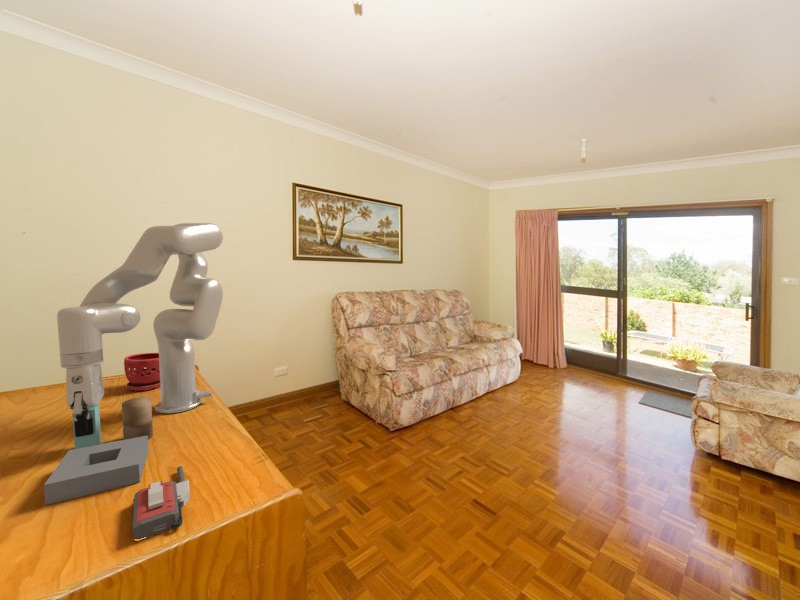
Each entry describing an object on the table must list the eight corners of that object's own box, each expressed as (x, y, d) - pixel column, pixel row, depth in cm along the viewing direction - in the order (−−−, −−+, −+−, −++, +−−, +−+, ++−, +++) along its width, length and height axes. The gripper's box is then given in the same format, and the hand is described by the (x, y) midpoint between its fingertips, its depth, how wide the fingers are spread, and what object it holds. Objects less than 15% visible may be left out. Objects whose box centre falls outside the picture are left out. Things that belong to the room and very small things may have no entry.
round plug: (154, 431, 92) (152, 395, 91) (151, 440, 87) (149, 403, 86) (126, 436, 89) (124, 399, 88) (121, 446, 84) (119, 407, 83)
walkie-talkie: (195, 526, 59) (185, 471, 75) (194, 502, 58) (185, 452, 74) (130, 551, 53) (135, 486, 69) (129, 524, 53) (134, 465, 69)
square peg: (101, 441, 86) (98, 403, 85) (97, 448, 83) (94, 409, 82) (80, 445, 84) (77, 406, 83) (75, 453, 80) (72, 412, 80)
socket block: (148, 451, 82) (147, 435, 82) (139, 482, 70) (138, 463, 70) (70, 467, 75) (69, 450, 74) (45, 505, 63) (44, 484, 62)
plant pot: (145, 394, 119) (143, 361, 118) (116, 391, 122) (114, 358, 121) (177, 383, 132) (176, 352, 131) (150, 380, 135) (148, 350, 134)
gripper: (93, 364, 76) (98, 442, 78) (110, 349, 90) (114, 415, 92) (47, 369, 72) (53, 451, 74) (72, 352, 87) (77, 421, 88)
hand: (87, 430), depth 83 cm, fingers closed on square peg, 4 cm apart
